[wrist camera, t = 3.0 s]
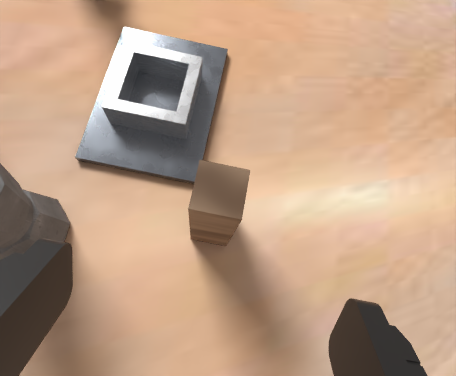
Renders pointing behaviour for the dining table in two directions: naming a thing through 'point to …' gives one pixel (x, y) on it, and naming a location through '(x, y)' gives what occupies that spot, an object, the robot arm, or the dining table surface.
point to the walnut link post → (217, 202)
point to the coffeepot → (27, 217)
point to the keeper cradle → (155, 106)
